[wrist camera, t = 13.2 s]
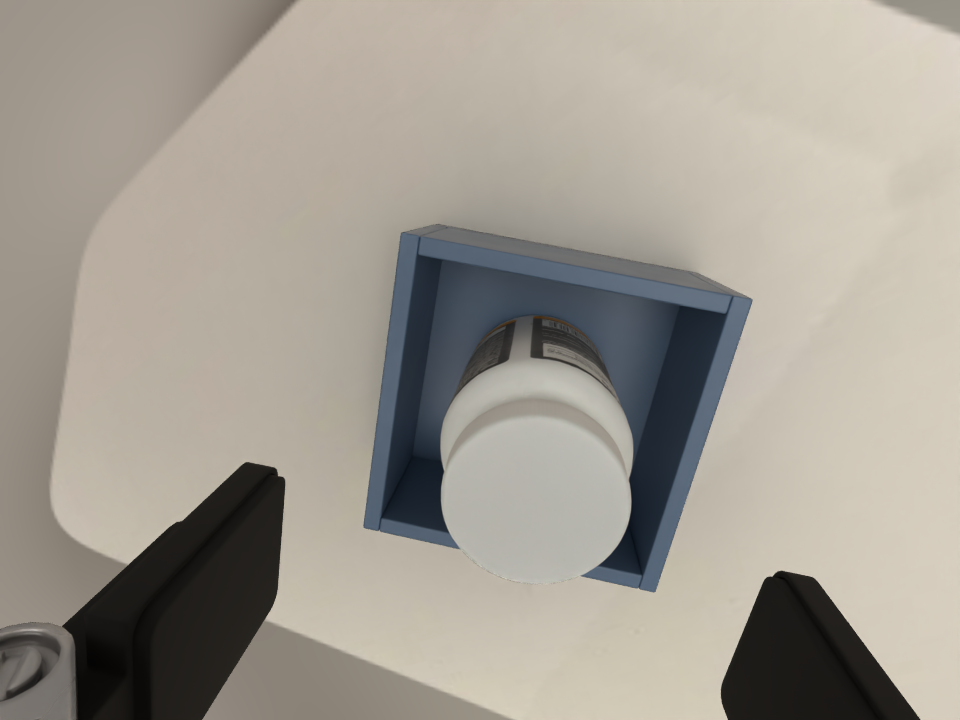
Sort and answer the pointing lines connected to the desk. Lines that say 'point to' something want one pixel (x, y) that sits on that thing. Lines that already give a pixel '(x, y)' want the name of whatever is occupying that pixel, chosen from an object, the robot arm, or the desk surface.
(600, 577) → the bin
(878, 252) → the desk surface
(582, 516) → the pill bottle
